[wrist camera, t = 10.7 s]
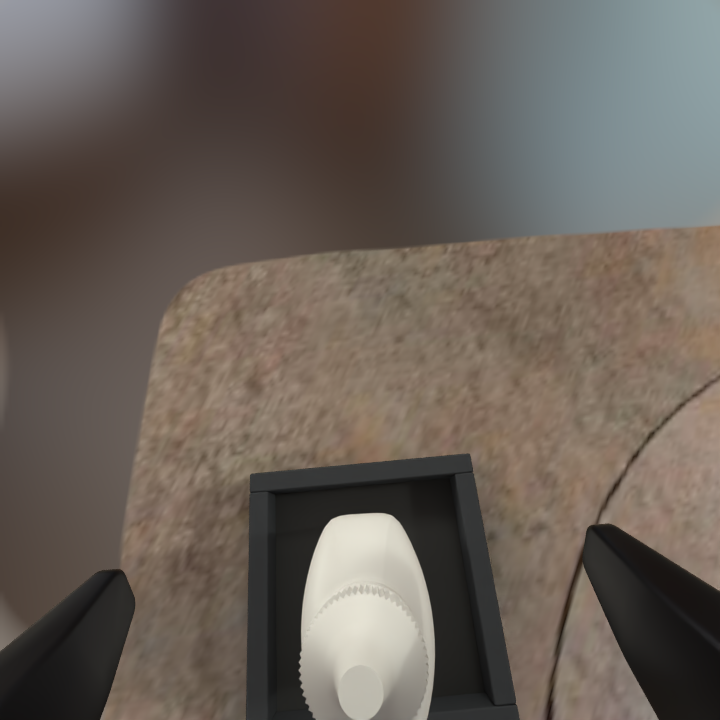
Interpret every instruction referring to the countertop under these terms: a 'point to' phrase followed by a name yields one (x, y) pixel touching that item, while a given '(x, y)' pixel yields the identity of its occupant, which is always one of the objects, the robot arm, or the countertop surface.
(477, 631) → the dock pad
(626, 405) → the countertop surface
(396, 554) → the eye dropper bottle
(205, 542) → the countertop surface
